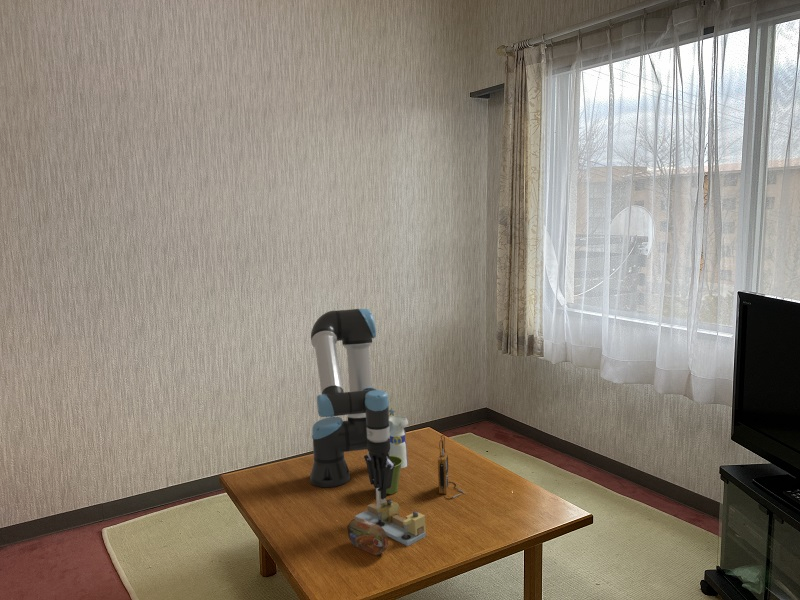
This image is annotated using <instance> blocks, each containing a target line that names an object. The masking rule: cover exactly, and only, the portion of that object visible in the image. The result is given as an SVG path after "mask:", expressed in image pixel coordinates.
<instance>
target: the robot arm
mask: <svg viewBox="0 0 800 600" xmlns="http://www.w3.org/2000/svg"><path fill="white" fill-rule="evenodd" d="M376 337H377V329H376V323H375V319H374V315H373V313H372V312H371V310H370V309H368V308H354V309H353V308H352V309H342V310H339V309H338V310H330V311H327V312H325V313H323V314H322V315H320V316H319V317H318V318H317V320H316V321H315V322H314V323H313V326H312V328H311V333H310V342H311V345H312V347H313V348H314V350H315V357H316V364H317V369H318V370H317V371H318V377H319V383H320V384H319V386H320V392H321V394H319V395H317V396H316V407H317V414H318V416H319V417H321V418H322V419H319V420H318V421H316V422H315V423H313V426H312V429H311V431H312V434H311V439H312V451H313V463H312V467H311V471H310V475H309V476H310V477H309V479H310V483H311V485H313V486H315V487H319V488H335V487H339V486H341V485H345V484H346V483H347V482H348V481H350V479H351V473H350V469H349V467H348V464H347V462H346V459H345V453H347V452H348V453H349V452H356V451H357V452H358V451H364V450H365V451H368V453H367V454H365V455H364V456H363V458H364V461H365V463H366V464H365V465H366V469H367V473H368V479H369V482H370V485H371V486H373V487H374V490H375V492H374V493H375V497H376V505H377V508H380V505H381V504H383V503H385V502H387V500H386V499H387V494H386V489H389V488H391V482H392V475H393V469H394V467H395V463H394V462H393V463H392V462H391V461H390V460H389V459H390V457H389V450H390V427H389V417H390V416H389V414H390V412H389V410H390V408H389V407H390V406H389V405H390V401H389V394H388V393H387V392H386V391H385V390H381V389H377V388H376V387H374V386H372V375H371V374H372V373H371V361H370V359H371V358H370V357H371V356H370V347H371V346H372V344H373V339H375V338H376ZM338 341H339V342H342V344H341V345H342V346H343V347H344V348H345V349H346V356H347V358H346V359H347V360H346V361H347V373H348V385H349V386H348V387H349V391H345V392H344V386H343V380H342V376H341V375H342V374H341V368H340V364H339V363H340V362H339V357H338V352H337V345H336V344H337V343H338ZM345 415H346V416H347V417H346V418H347V420H343V418H341V417H339V416H345Z"/></svg>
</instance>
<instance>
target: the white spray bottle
mask: <svg viewBox="0 0 800 600" xmlns="http://www.w3.org/2000/svg"><path fill="white" fill-rule="evenodd" d="M395 412H396V410H394V409H393V408H392V407H391V408H389V427H390V437H389V439H390V450H389V456H397V457H400V458H401V459H402V460H403V462H402V464H401V469H404V468H407V467H408V466H409V462H408V461H409V460H408V449H407V441H406V434H407V433H406V429H405V428H406V427H407V426H408V425H409V421H408V419H407V417H406V416H403V415H395V414H394V413H395Z"/></svg>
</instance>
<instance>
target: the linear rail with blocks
mask: <svg viewBox="0 0 800 600" xmlns="http://www.w3.org/2000/svg"><path fill="white" fill-rule="evenodd" d="M377 509H378V508H377V504H374V503H369V504H367V510H365V511H363V512H360V513H358V514H356V515H355V516H354V520H356V519H359V518H360V519H364V520H366V521H369V522H371V523H374V524H376V525H379V526H381V527H382V528H383V529H384V531H385V532H386V534H387V537H389V538H391V539H393V540H394V541H396V542H399V543H400V544H403V545H405V546H406V547H409V546H410V545H413V544H415V543H416V542H418V541H420V540H422V539H424V538H425V537H427V532H426V530H427V529H426V515H425V514H422V513H421V512H419V511H416V510H415V511H412V513H410V514H408V515H406V516H405V517H402V516H400V515H399V516H398V515H396V514H395V515H393V516H391V522H390V523H389V522H386V521H384V520H382V519H381V521H382V524H379V523H378V512H377Z"/></svg>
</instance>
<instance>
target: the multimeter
mask: <svg viewBox="0 0 800 600" xmlns="http://www.w3.org/2000/svg"><path fill="white" fill-rule="evenodd" d="M442 437H443V438H442ZM440 438H441V439H440V440H439V448H441V451H439V455H438V458H437V466H438V467H437V471H438V472H437V473H438V474H437V475H438V476H437V477H438V479H437V480H438V494H441V495H442V496H443V498H444V499H446V500H451V499H454V498H456V497H460V496H459V495H461V494H463V493H464V494H466V495H467V493H466V492H465V491H464V490H461V489H459V488H456V487H457V483H455V482H452V481H449V480H450V478H449V474H450V473H449V452H446V451H445V447H444V442H445V440H446V439H445V438H446V437H445V435H444V434H442V435H441V436H440ZM451 483H452V484H454V487H453V488H454V489H455V490H457V491H459V492H461V493H459V494H458V493H457V494H456V495H454V496H452V497H451V498H447V497H445V495H447V494H448V489H449V487H450V484H451Z"/></svg>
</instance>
